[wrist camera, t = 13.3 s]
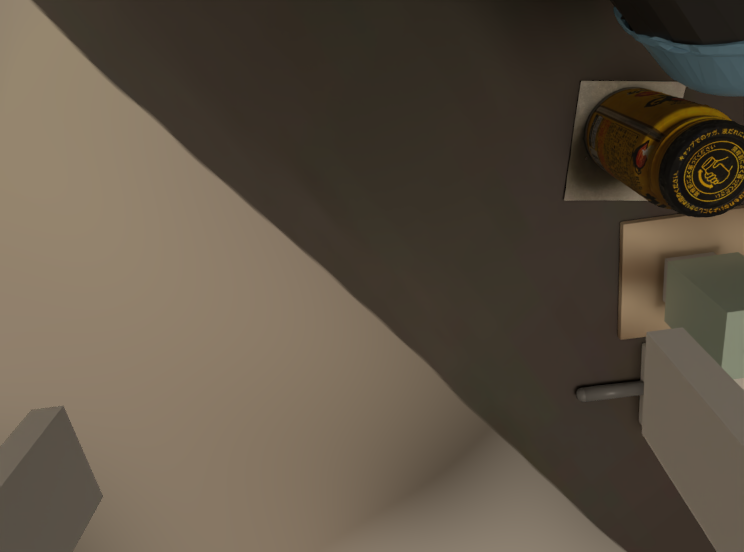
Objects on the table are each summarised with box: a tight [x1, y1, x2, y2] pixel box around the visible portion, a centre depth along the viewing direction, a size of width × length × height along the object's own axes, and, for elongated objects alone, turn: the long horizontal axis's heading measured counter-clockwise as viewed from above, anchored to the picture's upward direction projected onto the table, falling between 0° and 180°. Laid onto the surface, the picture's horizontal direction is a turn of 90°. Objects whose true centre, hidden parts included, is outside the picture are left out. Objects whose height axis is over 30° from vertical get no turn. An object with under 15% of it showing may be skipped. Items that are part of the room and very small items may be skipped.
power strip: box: [576, 343, 744, 425], centre depth 49 cm, size 26×8×4 cm, turn 98°
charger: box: [663, 252, 744, 379], centre depth 42 cm, size 5×5×10 cm
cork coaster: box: [618, 205, 744, 340], centre depth 47 cm, size 10×10×1 cm
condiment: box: [564, 81, 744, 218], centre depth 37 cm, size 7×8×12 cm
